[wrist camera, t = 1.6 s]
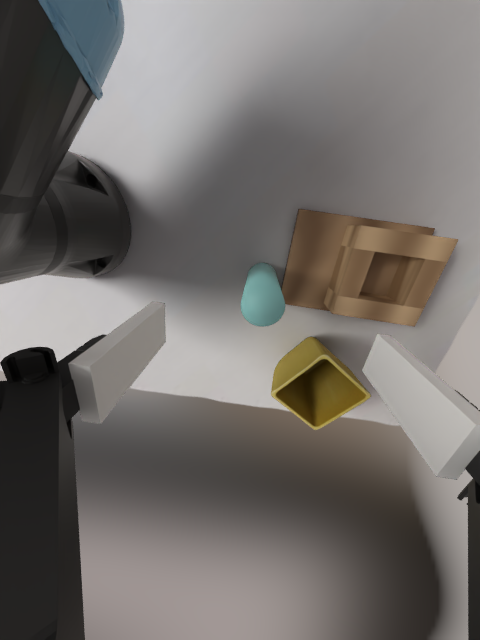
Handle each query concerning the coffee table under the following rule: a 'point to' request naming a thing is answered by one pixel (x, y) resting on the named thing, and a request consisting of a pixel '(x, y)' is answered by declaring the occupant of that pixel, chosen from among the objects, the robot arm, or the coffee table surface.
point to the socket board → (324, 254)
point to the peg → (262, 296)
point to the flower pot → (316, 384)
